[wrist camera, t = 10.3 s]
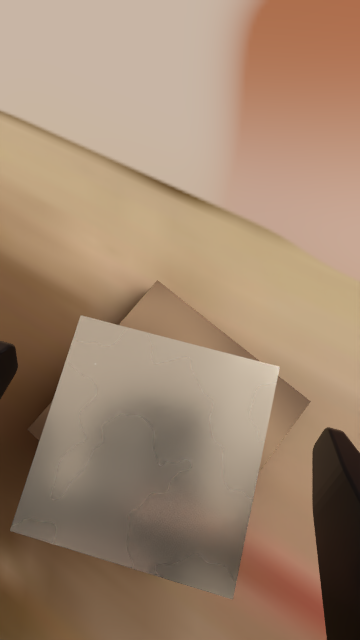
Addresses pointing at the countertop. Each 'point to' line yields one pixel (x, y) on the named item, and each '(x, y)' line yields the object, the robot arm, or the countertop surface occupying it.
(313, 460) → the robot arm
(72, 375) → the cream tea tin
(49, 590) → the countertop surface
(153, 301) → the walnut block
